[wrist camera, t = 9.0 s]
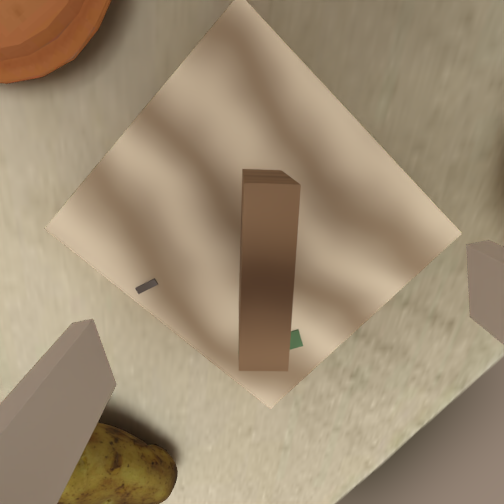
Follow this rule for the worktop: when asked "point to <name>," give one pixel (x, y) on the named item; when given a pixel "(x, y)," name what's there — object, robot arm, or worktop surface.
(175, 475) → the potato
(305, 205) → the plate
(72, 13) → the pie
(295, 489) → the worktop surface
